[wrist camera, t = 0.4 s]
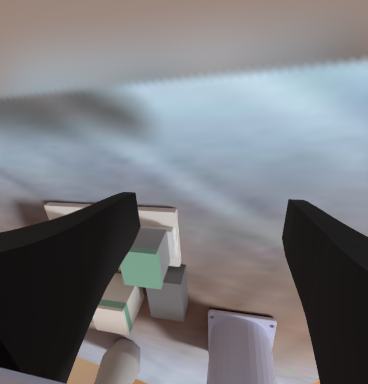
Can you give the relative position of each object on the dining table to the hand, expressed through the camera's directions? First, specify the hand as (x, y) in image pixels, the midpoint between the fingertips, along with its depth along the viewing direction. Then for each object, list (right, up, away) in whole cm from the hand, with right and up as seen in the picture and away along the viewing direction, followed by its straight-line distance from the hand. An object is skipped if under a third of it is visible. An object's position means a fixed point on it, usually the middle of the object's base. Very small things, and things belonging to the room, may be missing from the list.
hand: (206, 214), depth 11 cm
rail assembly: (-9, -3, +15) cm, 17 cm away
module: (-8, -11, +18) cm, 23 cm away
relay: (-3, -10, +17) cm, 20 cm away
